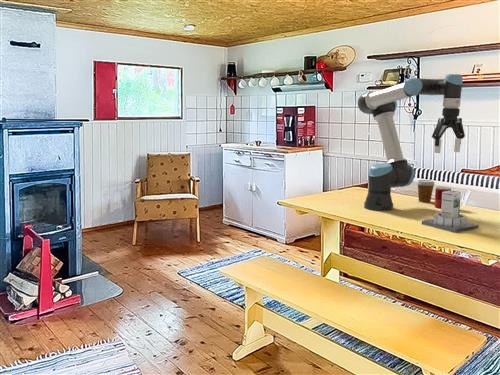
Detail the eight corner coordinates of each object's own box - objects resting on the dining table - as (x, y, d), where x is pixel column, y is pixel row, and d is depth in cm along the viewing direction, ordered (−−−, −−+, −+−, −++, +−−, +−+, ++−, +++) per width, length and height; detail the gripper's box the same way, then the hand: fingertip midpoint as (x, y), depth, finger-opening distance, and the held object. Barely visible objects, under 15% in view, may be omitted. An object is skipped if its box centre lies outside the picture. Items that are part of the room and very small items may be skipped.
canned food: (441, 209, 252) (443, 189, 250) (431, 206, 259) (432, 186, 257) (453, 208, 255) (454, 188, 253) (441, 205, 262) (443, 186, 260)
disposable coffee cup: (413, 199, 278) (415, 179, 276) (430, 200, 277) (432, 179, 275) (418, 203, 269) (419, 182, 267) (435, 203, 268) (436, 182, 266)
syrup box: (451, 225, 212) (454, 193, 209) (439, 222, 217) (442, 191, 214) (458, 223, 215) (461, 191, 213) (447, 220, 220) (449, 189, 217)
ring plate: (421, 223, 220) (422, 213, 219) (444, 220, 228) (445, 209, 227) (455, 232, 205) (456, 221, 204) (478, 228, 213) (479, 217, 212)
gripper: (439, 107, 216) (435, 154, 220) (475, 108, 228) (471, 152, 231) (426, 107, 222) (422, 152, 226) (462, 107, 234) (458, 150, 238)
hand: (447, 152), depth 229 cm, fingers open, 13 cm apart
